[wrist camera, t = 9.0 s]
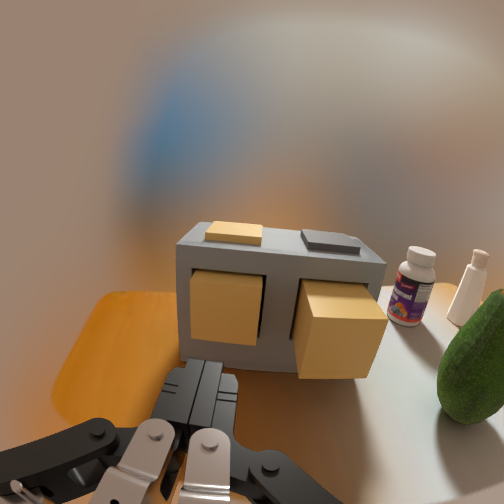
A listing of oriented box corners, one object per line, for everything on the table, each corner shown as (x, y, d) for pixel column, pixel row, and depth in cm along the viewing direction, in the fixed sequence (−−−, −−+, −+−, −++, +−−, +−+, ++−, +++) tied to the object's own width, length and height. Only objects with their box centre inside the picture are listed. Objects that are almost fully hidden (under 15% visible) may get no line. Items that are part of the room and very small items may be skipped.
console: (335, 328, 30) (357, 231, 27) (353, 373, 23) (388, 256, 19) (198, 317, 31) (200, 216, 27) (180, 361, 23) (175, 236, 19)
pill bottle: (379, 309, 35) (396, 243, 32) (405, 307, 36) (423, 245, 33) (400, 330, 30) (422, 257, 27) (427, 325, 31) (448, 258, 28)
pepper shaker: (451, 326, 30) (476, 253, 27) (441, 309, 35) (461, 243, 32) (478, 329, 29) (502, 260, 25) (466, 313, 34) (486, 249, 30)
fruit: (440, 454, 12) (527, 322, 8) (406, 392, 20) (457, 270, 16) (496, 427, 12) (564, 312, 9) (462, 379, 20) (508, 274, 16)
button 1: (258, 298, 28) (262, 251, 26) (255, 345, 20) (262, 287, 19) (209, 293, 28) (210, 246, 26) (191, 338, 20) (190, 279, 19)
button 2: (341, 321, 24) (353, 272, 23) (366, 377, 17) (388, 319, 15) (290, 318, 25) (298, 267, 23) (298, 378, 17) (313, 316, 15)
